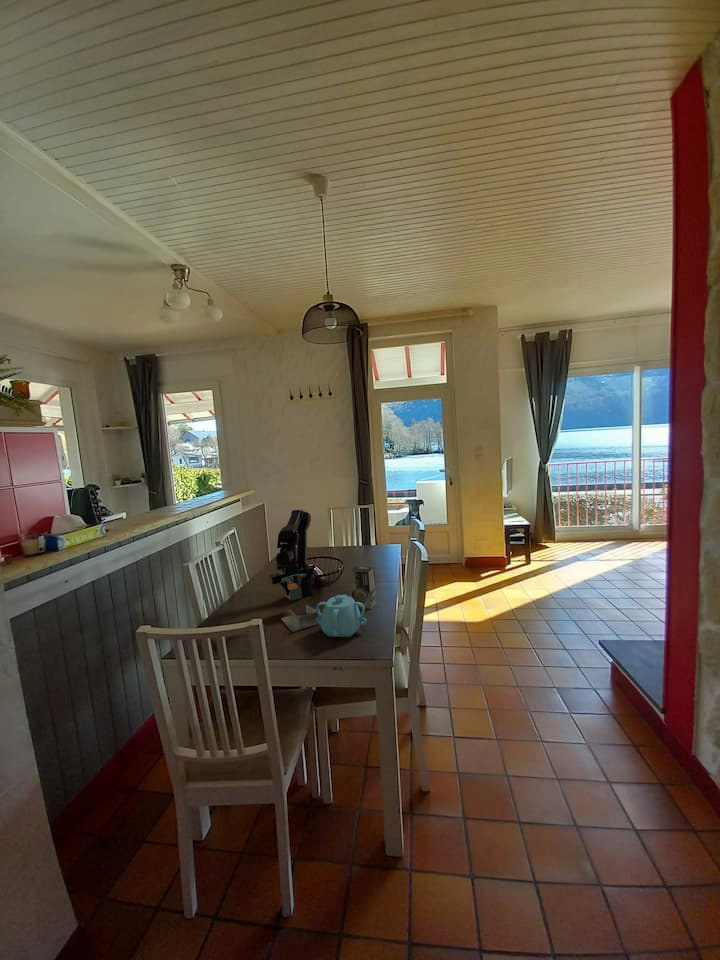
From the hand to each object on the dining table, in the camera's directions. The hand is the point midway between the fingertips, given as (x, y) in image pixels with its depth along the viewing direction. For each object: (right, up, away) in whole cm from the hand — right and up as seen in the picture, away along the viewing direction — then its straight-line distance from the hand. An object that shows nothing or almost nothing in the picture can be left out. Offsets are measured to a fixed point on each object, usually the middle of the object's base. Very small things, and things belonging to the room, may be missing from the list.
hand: (293, 594), depth 165 cm
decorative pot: (+22, -8, -20) cm, 31 cm away
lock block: (0, -1, 0) cm, 1 cm away
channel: (+6, -8, -9) cm, 13 cm away
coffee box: (+31, -6, +2) cm, 31 cm away
